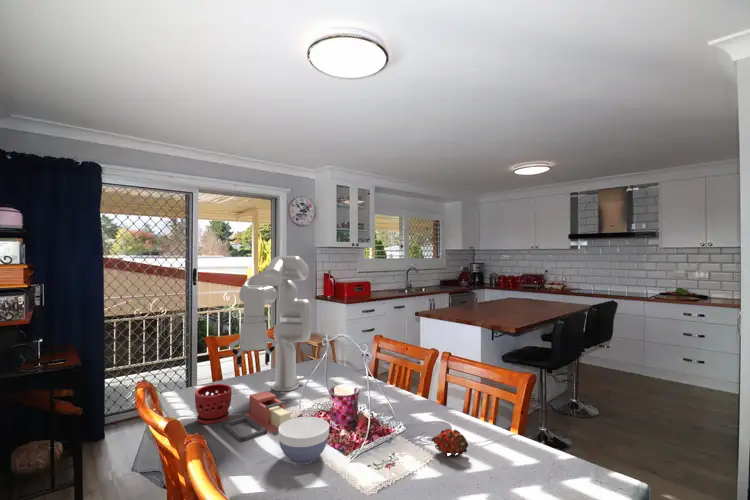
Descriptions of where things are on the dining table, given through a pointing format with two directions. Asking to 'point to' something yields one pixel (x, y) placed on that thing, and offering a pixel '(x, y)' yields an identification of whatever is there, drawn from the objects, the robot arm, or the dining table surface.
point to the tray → (240, 436)
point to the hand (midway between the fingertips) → (253, 365)
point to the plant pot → (213, 403)
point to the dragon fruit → (451, 442)
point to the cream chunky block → (278, 416)
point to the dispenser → (263, 409)
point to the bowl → (303, 438)
